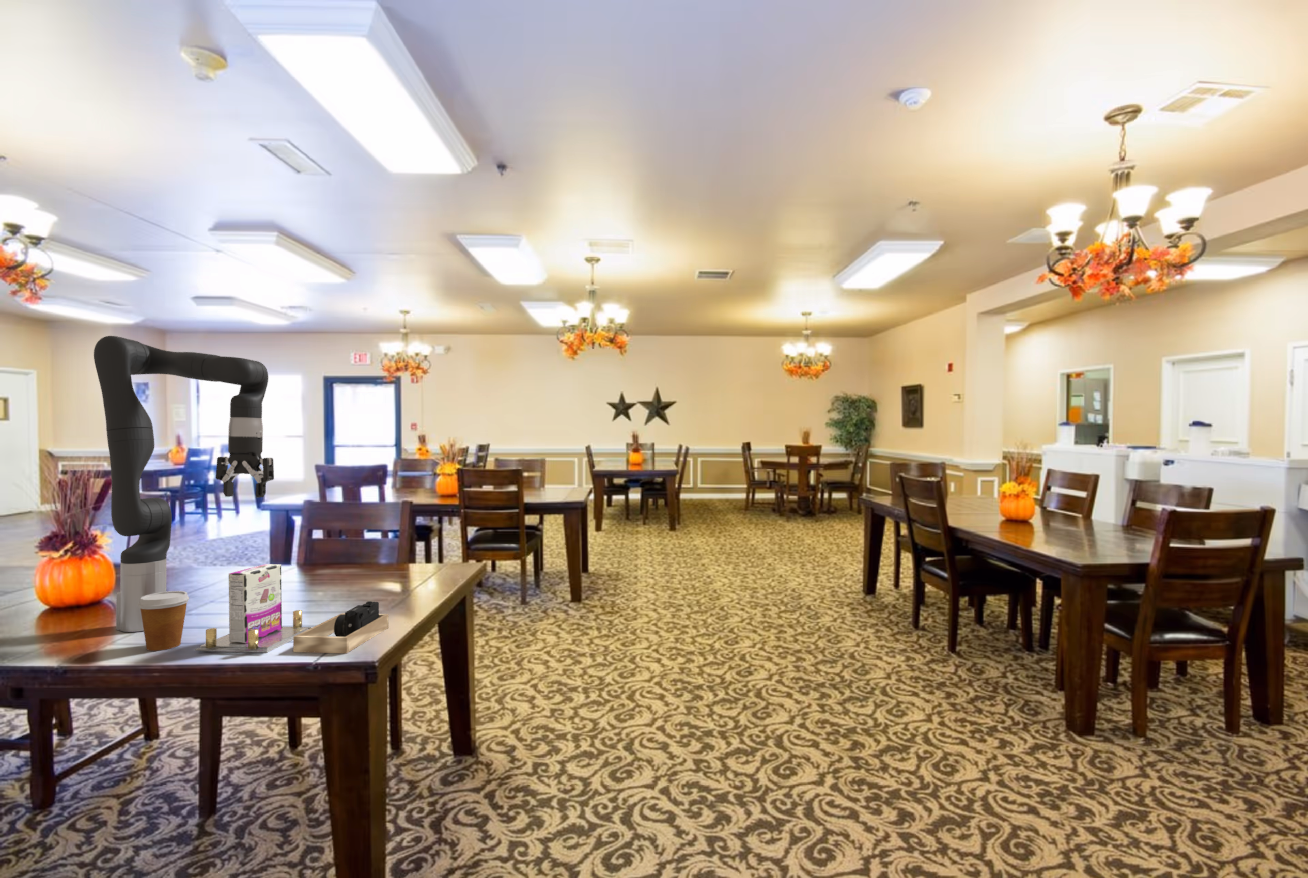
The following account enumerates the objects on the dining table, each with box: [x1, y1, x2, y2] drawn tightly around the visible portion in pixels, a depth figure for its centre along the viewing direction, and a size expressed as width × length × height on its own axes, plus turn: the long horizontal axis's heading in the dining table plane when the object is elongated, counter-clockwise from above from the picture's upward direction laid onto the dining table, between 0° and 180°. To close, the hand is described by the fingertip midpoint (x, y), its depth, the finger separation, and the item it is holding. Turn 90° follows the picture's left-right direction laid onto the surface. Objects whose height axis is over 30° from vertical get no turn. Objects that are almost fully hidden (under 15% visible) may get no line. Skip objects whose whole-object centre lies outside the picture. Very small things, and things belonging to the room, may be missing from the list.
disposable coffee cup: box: [138, 590, 190, 652], centre depth 146 cm, size 10×10×12 cm
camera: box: [333, 601, 380, 637], centre depth 154 cm, size 14×7×8 cm, turn 0°
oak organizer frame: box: [292, 612, 390, 654], centre depth 151 cm, size 13×20×4 cm, turn 177°
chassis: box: [194, 609, 312, 654], centre depth 150 cm, size 16×18×5 cm
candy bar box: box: [228, 563, 283, 643], centre depth 150 cm, size 11×5×16 cm, turn 170°
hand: (244, 496), depth 163 cm, fingers open, 8 cm apart
